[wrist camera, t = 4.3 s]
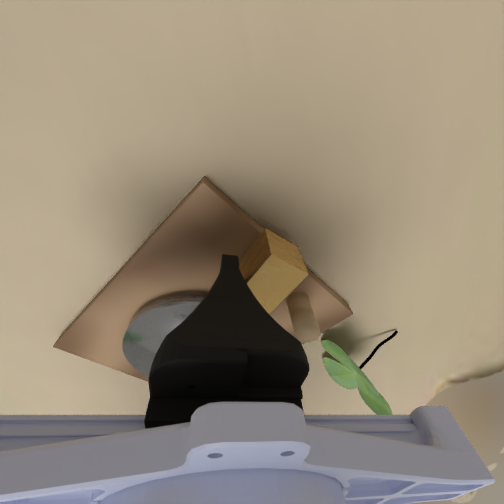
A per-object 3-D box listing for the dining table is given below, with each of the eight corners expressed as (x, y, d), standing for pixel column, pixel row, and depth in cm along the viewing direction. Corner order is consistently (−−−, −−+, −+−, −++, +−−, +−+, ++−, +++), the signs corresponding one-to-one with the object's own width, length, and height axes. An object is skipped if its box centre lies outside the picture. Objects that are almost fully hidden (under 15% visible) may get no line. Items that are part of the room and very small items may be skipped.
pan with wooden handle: (219, 385, 23) (218, 421, 21) (109, 356, 19) (91, 396, 17) (341, 271, 16) (361, 305, 14) (204, 193, 12) (198, 220, 10)
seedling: (344, 308, 27) (303, 348, 25) (389, 289, 20) (337, 343, 18) (394, 362, 26) (355, 410, 23) (463, 363, 18) (415, 433, 16)
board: (348, 304, 20) (371, 348, 17) (205, 392, 26) (202, 436, 23) (204, 176, 13) (196, 206, 10) (60, 335, 20) (26, 386, 16)
